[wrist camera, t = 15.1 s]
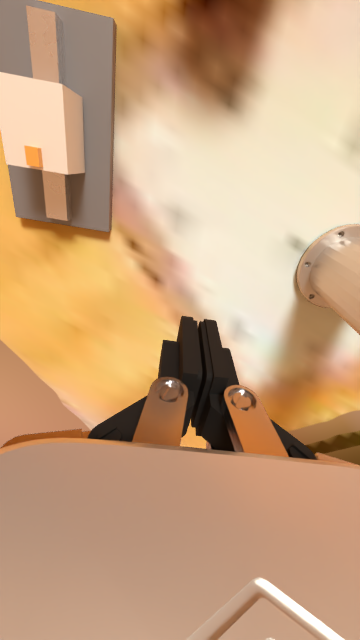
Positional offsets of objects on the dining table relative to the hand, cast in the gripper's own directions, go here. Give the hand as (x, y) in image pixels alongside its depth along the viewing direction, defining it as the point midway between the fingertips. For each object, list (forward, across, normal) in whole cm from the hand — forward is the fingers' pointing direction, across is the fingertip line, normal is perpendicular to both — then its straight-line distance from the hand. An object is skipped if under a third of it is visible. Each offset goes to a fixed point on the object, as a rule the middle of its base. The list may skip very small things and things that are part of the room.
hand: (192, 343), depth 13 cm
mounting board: (+27, +16, -8) cm, 32 cm away
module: (+25, +16, -8) cm, 31 cm away
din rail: (+26, +16, -8) cm, 31 cm away
